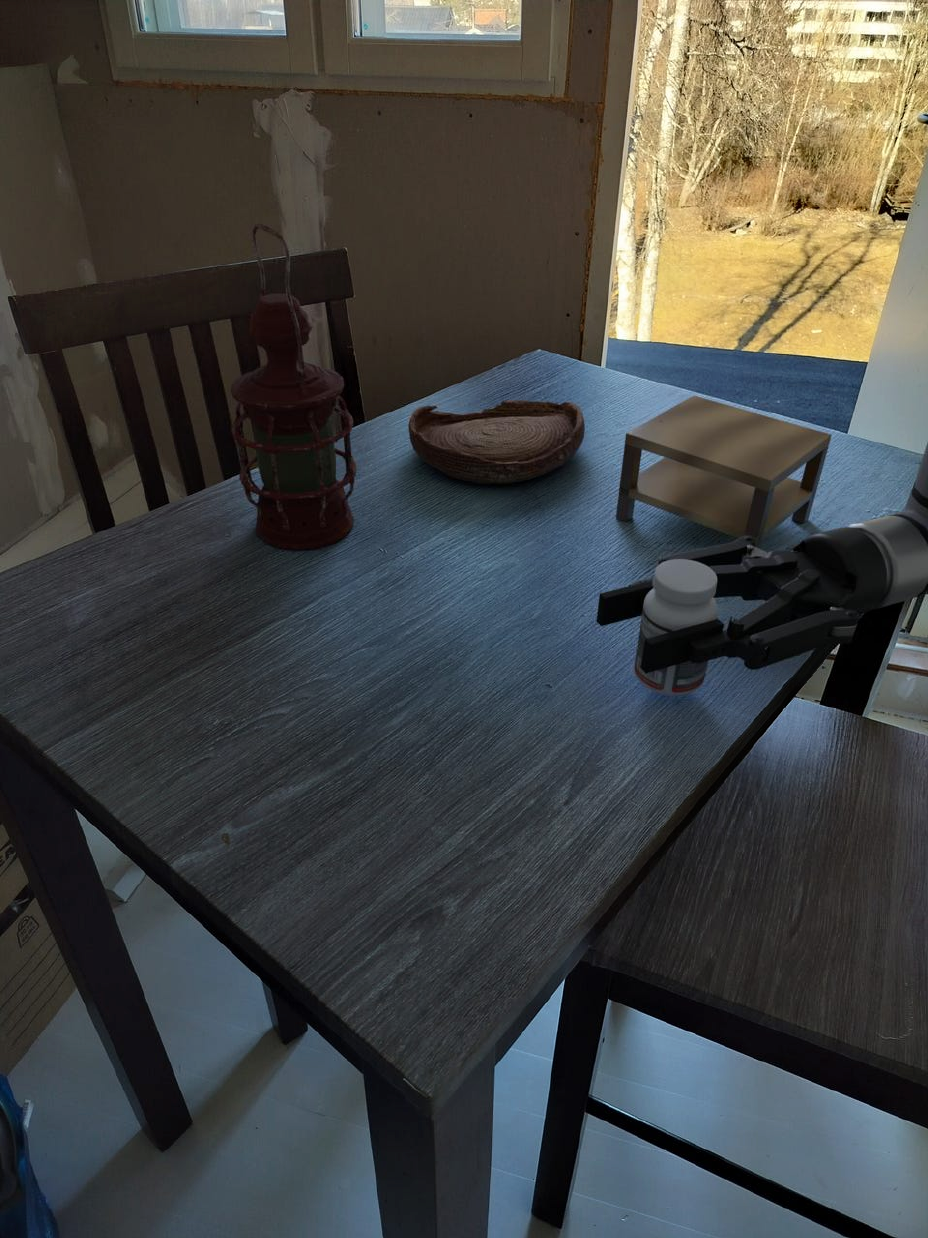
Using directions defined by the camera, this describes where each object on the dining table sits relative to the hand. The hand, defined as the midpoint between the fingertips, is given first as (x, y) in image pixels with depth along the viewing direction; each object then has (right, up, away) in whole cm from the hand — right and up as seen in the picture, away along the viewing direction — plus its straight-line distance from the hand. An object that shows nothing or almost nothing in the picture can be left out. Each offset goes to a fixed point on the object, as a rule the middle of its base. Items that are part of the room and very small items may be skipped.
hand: (622, 632), depth 65 cm
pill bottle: (+5, -4, +5) cm, 8 cm away
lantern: (-29, +11, +27) cm, 42 cm away
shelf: (+15, +12, +29) cm, 35 cm away
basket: (-8, +22, +42) cm, 48 cm away
